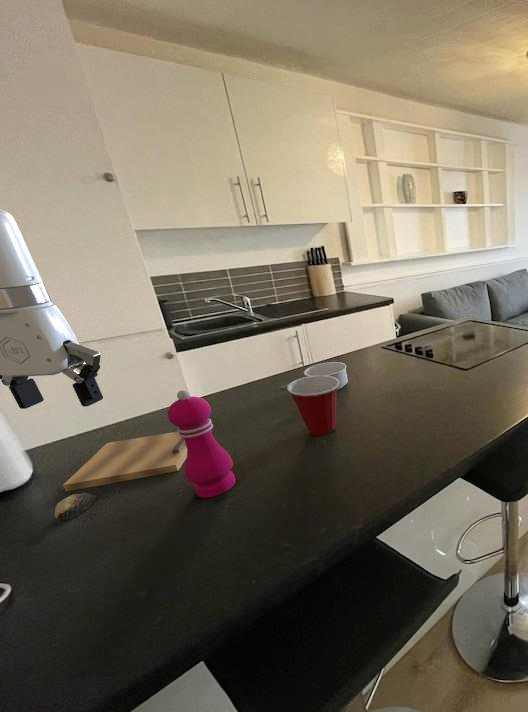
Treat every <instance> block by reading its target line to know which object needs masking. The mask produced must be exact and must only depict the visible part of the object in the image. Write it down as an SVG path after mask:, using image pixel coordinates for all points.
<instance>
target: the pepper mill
mask: <svg viewBox="0 0 528 712" xmlns="http://www.w3.org/2000/svg"><path fill="white" fill-rule="evenodd" d="M176 397H177V400H175V401H174V402H173V403H171V404H170V406H169V407H168V408H167V418H168V421H169V422H170V423H171V424H172V425H173V426H175V427H177V428H176V432H179V436H180V437H183V438H184V440H185V443H186V446H187V458H186V460H185V461H184V474H185V478H186V480H187V481H188V482H190V483H192V484H193V488H194V492H195V494H196V496H197V497H200V498H204V499H205V498H207V499H208V498H214V497H217V496H220V495H222V494H224V493H226V492H228V491H229V490H231V489H232V488H233V487H234V486H235V484H236V477H235V473H234V472H233V470H232V468H233V465H234V461H233V459H232V456H231V455H230V454H229V452H228V451H227V450H226V449H225V448H224V447H222V446H221V444H219V443H218V442H217V440H216V439H215V437H214V434H213V432H212V429H213V428H214V424H213V423H212V419H211V418H210V416H211V413H212V408H211V405H210V404H209V402H208V401H207V400H206V399H205V398H202V397H200V396H191V393H190V391H188V390H186V389H181V390H179V391H177V394H176Z"/></svg>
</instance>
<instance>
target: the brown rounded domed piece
mask: <svg viewBox="0 0 528 712" xmlns="http://www.w3.org/2000/svg"><path fill="white" fill-rule="evenodd" d="M98 499H99V498H97V496H96V495H93V494H90V493H87V492H82V493H73V494H71V495H68V496H67V497H65V498H63V499H62V500H60V501H59V502H58V503H57V504H56V505H55V509H54V517H55V518H56V520H58V521H62V522H67V521H69V520H73V519H74V518H76V517H77V516H78V515H81V514H82V513H84V512H86V510H87V509H89V508H90V507H91V506H93V505H94V504H95V502H97V500H98Z"/></svg>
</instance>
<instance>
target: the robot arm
mask: <svg viewBox="0 0 528 712" xmlns="http://www.w3.org/2000/svg"><path fill="white" fill-rule="evenodd" d="M12 215H13V214H10V213H9V211H7V210H4V209H2V208H0V382H1V384H2V385H3V386H5V387H8V389H9V391H10V393H11V394H12V396H13V398H14V400H15V402H16V404H17V406H18V407H19V409H21V410H26V409H28V408H31V407H34V406H35V405H38V404H41V403H43V402H44V400H45V398H44V396H43V394H42V393H41V391H40V389H39V386H38V385H37V383H36V381H35V380H34V378H29V377H39V376H40V377H41V376H42V377H45V376H56V375H58V374H60V373H62V374H63V375H64V376H66V377H68V379H70V380H72V381H73V382H74V383H72V384H71V385H72V388H73V390H74V392H75V394H76V397H77V398H78V401H79V403H80V405H81V406H82V407H90V406H92V405H94V404H96V403H98V402H100V401H102V400H103V399H104V396H103V393H102V391H101V389H100V387H99V384H98V382H97V379H96V378H97V377H98V372H99V371H100V369H101V353H100V352H99V351H97V350H94V349H91V348H90V347H86V346H83V345H82V344H80V343H79V340H78V338H77V337H76V335H75V332H74V331H73V329H72V327H71V326H70V324H69V322H68V321H67V319H66V317H65V316H64V315H63V313H62V312H61V310H60V309H59V308H58V307H57V305H56V304H53V301H52V299H51V297H50V294H49V292H48V290H47V288H46V285H45V283H44V282H43V279H42V276H41V274H40V273H39V270H38V268H37V266H36V263H35V261H34V258H33V257H32V255H31V252H30V250H29V248H28V245H27V243H26V242H25V239H24V236H23V234H22V232H21V230H20V228H19V226H18V224H17V222H16V220H15V217H14V216H12ZM75 369H77V370H78V371H79V372H78V371H76V370H75Z"/></svg>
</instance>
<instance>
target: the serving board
mask: <svg viewBox="0 0 528 712" xmlns="http://www.w3.org/2000/svg"><path fill="white" fill-rule="evenodd" d="M186 458H187V446H186V443H185V440H184V438H183V437H180V436H179V432H178V431H172V432H166V433H160V434H154V435H147V436H142V437H141V436H140V437H136V438H135V437H133V438H129V439H123V440H118V441H117V440H116V441H110V442H106V444H104V445H103V446H102V447H101V448H100V449H99V450H98V451H96V453H94V455H93V456H92V457H90V459H89V460H88V461H86V462H85V463H84V464H83V465H82V466H81V467H80V468H79V469H78V470H77V471H76V472H75V473H74V474H73V475H72V476H71V477H70V478H69V479H67V480H66V482H64V483H63V484H62V487H63V489H64V490H65V493H66V492H71V491H76V490H82V489H88V488H94V487H99V486H103V485H109V484H115V483H120V482H126V481H131V480H136V479H142V478H147V477H152V476H158V475H164V474H168V473H170V474H171V473H175V472H178V471H180V469H181V467H182V466H183V464H185V462H186Z"/></svg>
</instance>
